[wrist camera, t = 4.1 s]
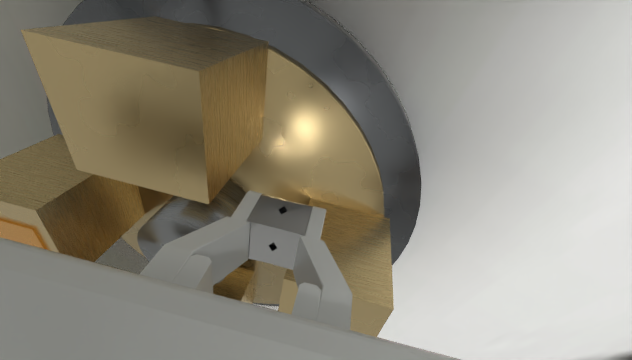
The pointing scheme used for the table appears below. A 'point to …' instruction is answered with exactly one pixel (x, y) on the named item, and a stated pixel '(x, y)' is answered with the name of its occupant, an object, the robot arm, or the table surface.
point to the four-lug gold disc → (194, 153)
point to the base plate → (322, 60)
